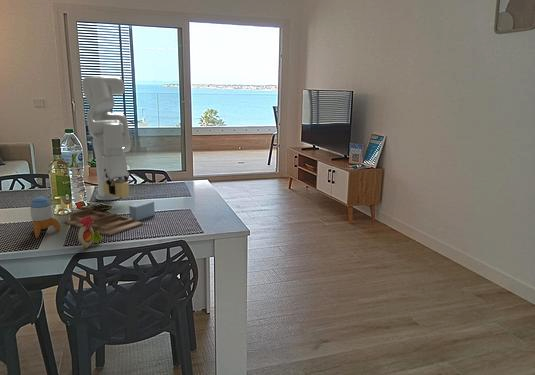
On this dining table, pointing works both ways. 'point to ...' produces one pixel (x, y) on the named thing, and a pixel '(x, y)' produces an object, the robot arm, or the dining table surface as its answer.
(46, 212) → the toy rocket
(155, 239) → the dining table surface
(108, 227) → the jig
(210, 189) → the dining table surface
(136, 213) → the plank
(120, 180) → the block
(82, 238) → the bird rattle
